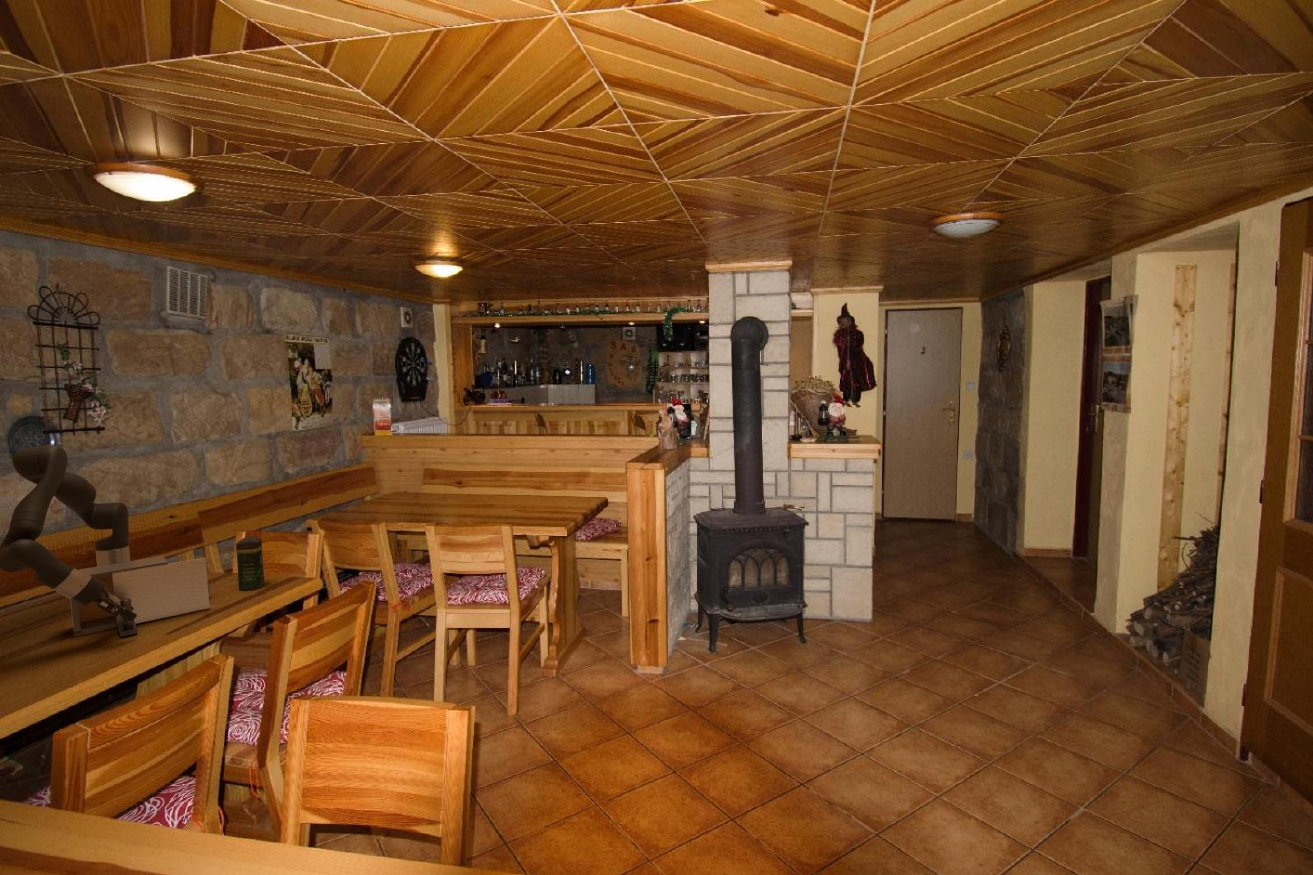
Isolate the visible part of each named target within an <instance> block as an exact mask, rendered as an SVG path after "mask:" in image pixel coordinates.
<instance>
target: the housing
mask: <svg viewBox="0 0 1313 875" xmlns="http://www.w3.org/2000/svg"><path fill="white" fill-rule="evenodd" d="M163 564H169V562H168V560H167V558H165V556H164V555H161V556H155V557H154V556H153V557H148V558H143V559H136V560H130V561H129V562H122V563H116V564H110V565H104V566H98V567H97V566H93V567H88V568H87V567H86V568H80V569H78V570H80V571H82V572H84V573H86V574H88V575H90V576H92V577H94V578H96V579H98V580H100V581H101V582H103V583H105V587H104V590H105V591H107V592H110V593H111V594H113V595H114V589H113V579H112V573H116V572H122V571H128V570H134V569H140V568H146V567H152V566H157V565H163ZM69 601H70V611H71V612H70V613H71V620H72V621H71V622H72V623H71V624H72V629H73V634H74V637H75V636H76V637H80V636H84V635H88V634H89V635H90V634H94V633H98V632H103V631H108V630H111V629H112V630H113V629H116V628H117V629H118V627H117V620H116V616H114V615H113V614H111V613H109V612H107V611H105V610H103V609H102V608H99V607H98V606H97V604H96V602H94V601H92V602H90V604H88V605H86V606H83V605H81V604H79V603H77V602H75V601H73V600H71V599H69ZM115 611H116V610H115Z"/></svg>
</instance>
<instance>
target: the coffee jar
mask: <svg viewBox="0 0 1313 875" xmlns="http://www.w3.org/2000/svg"><path fill="white" fill-rule="evenodd" d="M235 552H236V562H237V563H236V564H237V584H238V589H239V590H243V591H244V590H245V591H251V590H254V589H259V588H261V587H263V585H264V584H265V572H264V571H265V570H264V558H263V556H264V555H263V554H264V553H263V541H262V538H261V537H260V536H258V535H252V536H245V537H244V538H241V539H240V540H238V541H237V542H236V543H235Z"/></svg>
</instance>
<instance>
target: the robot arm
mask: <svg viewBox="0 0 1313 875" xmlns="http://www.w3.org/2000/svg"><path fill="white" fill-rule="evenodd" d="M68 461H69V458H68V454H67V452H66V450H65V448H63V447H62V446H60V445H43V446H42V445H41V446H32V447H25V448H21V449H19V450H17V451H16V452H15V453H14V454H13V457H12V461H11V462H12V465H13V467H14V470H15V471H16V472H17V474H18V475H20V476H21V478H24V479H25V480H27V481H29V482H30V483H33V484H34V485H36V486H35V487H34V488H33V489H31V491H30V492H28V493H27V495H25V496H24V497H23V498H22V499H21V500H20V501H19V503H17V505H16V506H15V508H14V510H13V512H12V514H11V518H10V519H11V520H10V522H9V526H8V531H7V533H6V534H5V536H4V538H3V540H2V542H1V544H0V571H3V572H5V573H17V572H20V571H22V570H24V569H26V568H27V567H29V568H30V569H31V570H33V571H34V572H35V573H34V575H33V579H35V581H36V582H38V583H40V584H41V585H43V586H46V587H48V588H50V589H52V590H53V591H54V592H57V593H58V594H59V595H61V596H63V597H64V598H67V599H69V600H70V599H71V600H73V601H75V602H77V603H79V604H81V605H83V606H86V605H88V604H90V602H92V601H94V602H96V604H97V606H98V607H99V608H102V609H103V610H105V611H107V612H109V613H111V614H113V615H114V616H119V615H120V616H121V617H123V618H125V619H127V620H129V621H133V620H134V619H135V618H136V617H137V614H135V613H133V612H131V611H129V610H127V609H126V608H125V607H123V606H121V599H120V598H119V597H117V596H115V595H113V594H111V593H110V592H107V591H105V590H104V587H105V583H103V582H101V581H100V580H98V579H96V578H94V577H92V576H90V575H88V574H86V573H84V572H82V571H80V570H79V569H77V568H75V567H73V566H71V565H69V564H67V563H66V562H63V561H61V560H59V559H58V558H57V557H56V556H55V554H54V553H52V552H51V551H50V550H48V549H47V548H46V547H45V546H44V545H43V544H42V543H41V542H38V541H36V540H37V539H38V538H39V537H40V536H41V534H42V532H43V530H44V526H45V522H46V517H47V514H48V511H49V507H50V504H51V502H52V501H53V498H54V497H55V499H56V500H58V501H59V502H61V503H62V504H63V505H65V506H67V508H69V509H70V510H71V511H73V512H74V513H75V514H76V515H77V516H78V517H79V518H80V519H81V520H82V521H83V522H84V524H86V526H88V527H89V528H90V529H92V530H95V531H97V530H99V531H100V530H102V531H103V530H111V531H112V532H111V534H110V535H109V536H107V537H104V538H100V539H98V540H97V541H96V542H94V543H95V544H94V548H95V557H96V567H98V566H104V565H110V564H116V563H122V562H129V561H131V555H130V554H131V553H130V552H131V551H130V542H129V541H130V540H129V539H130V530H129V526H130V524H129V510H128V507H127V505H126V504H125V503H124V502H106V503H105V502H104V503H99V502H98V503H96V502H95V501H96V498H97V490H96V488H95V486H94V485H93V484H92V483H91V482H90V481H88V480H87V479H86V478H85V477H83V476H81V475H79V474H77V473H73V472H71V471H70V472H69V471H67V468H68V466H69V465H68V464H69V463H68ZM131 607H132V606H131ZM116 608H117V609H118V610H117V611H115V609H116ZM133 609H134V608H133V607H132V610H133Z"/></svg>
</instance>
